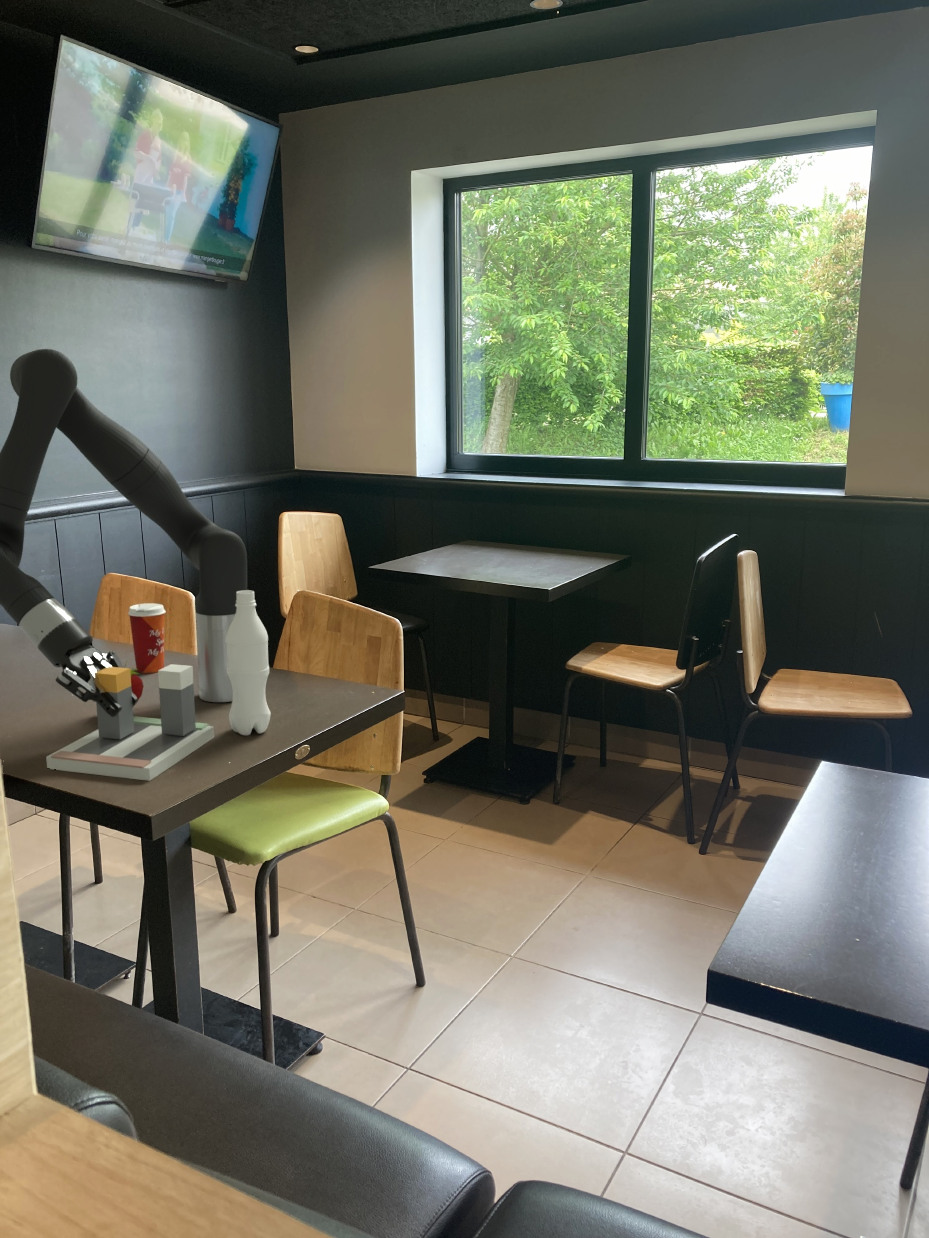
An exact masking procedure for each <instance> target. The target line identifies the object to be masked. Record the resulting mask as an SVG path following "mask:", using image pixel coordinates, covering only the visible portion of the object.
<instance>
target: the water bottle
mask: <svg viewBox="0 0 929 1238" xmlns="http://www.w3.org/2000/svg"><path fill="white" fill-rule="evenodd" d="M236 595H237V596H236V597H237V600H236V602H237V603H236V604H235V606H236V607H237V609H236V614H235V617H234V619H233V621H232V623H231V625H230V627H229V629H228V632H227V635H226V643H227V665H228V667H227V674H228V676H229V678H230V681H231V684H232V689H233V701H231V705H230V710H229V713H228V720H229V723H230V727H231V729H232V730H233V732H235V733H238V734H240V735H242V736H249V735H251V733H252V730H253V729H254V730H255V732H256V733H257V734H263V733H264V732H266V730H267V728H268V727H269V724H270V720H271V715H272V713H271V710H270V709H269V706H268V703H267V696H266V686H267V680H268V677H269V676H270V675H269V674H270V665H269V647H268V646H269V642H268V641H269V635H268V632H267V629H266V627H265V626H264V624H263V622H262V620H261V619H260V617H259V616H258V615H259V614H258V613H257V611H256V607H257V603H256V599H255V591H254V590H249V589H247V590H242V591H237V593H236Z"/></svg>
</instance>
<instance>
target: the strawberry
mask: <svg viewBox="0 0 929 1238" xmlns="http://www.w3.org/2000/svg"><path fill="white" fill-rule="evenodd" d="M127 662H128V661H127V660H126V661H125V665H124V668H127ZM137 670H138V669H137V668H135V669H134V668H133V669H132V668H130V673H131V688H132V692H133V693H134V694H135V696H136V697H137V699H138V701H139V700H140V698H141V697H142V695H143V691H144V683H143V679H141V678H140V676H138V675H140V672H137ZM136 705H137V703H136V704H135V705H134V706H133V708H134V707H135V706H136Z"/></svg>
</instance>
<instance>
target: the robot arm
mask: <svg viewBox="0 0 929 1238" xmlns="http://www.w3.org/2000/svg"><path fill="white" fill-rule="evenodd" d="M9 372H10V373H9V380H10V384H11V386H12V389H13V391H14V392H15V393H16V395H17V397H18V399H17V400H18V401H17V405H16V410H15V415H14V418H13V422H12V425H11V427H10V430H9V432H8V434H7V435H8V436H7V437H6V440H5V442H4V444H3V446H2V448H1V450H0V606H1V607H2V608H3V609H4V610H5V612H6V613H7V614H8V615H9V616H10V617H11V618H12V619H13V621H14V622H16V624H17V625H18V626H19V627H20V628H21V630H22V631H23V633H24V634H25V635H26V637H27V638H28V639H29V640H30V642H31V643H32V644H33V645H34V646H35V647H36V648H37V649H38V651H39V652H40V653H41V654H42V655H43V656H44V657H45V658H46V659H47V660H48V661H49V662H50V664H51V665H52V666H53V667H55V668H61V669H62V671H61V672H60V674H58V676H57V677H56V678H55V682H56V683H57V684H58V685H60V686H62V688H64V689H66V690H67V691H68V692H70V693H71V694H72V695H74V696H75V697H77V699H79V700H81V701H82V702H84V703H87V702H88V701H92V702H95V703H96V702H97V703H98V704H99V705H100V706H101V707H102V708H103V709H104V710H105V711H106V713H108V714H109V715H110V716H111V717H114V716H116V715H117V714H118V713H119V712H120V711H121V710H122V707H121V706H120V705H119V704H118V703H117V702H116V701H115V700H114V698H113V697H112V696H111V695H110V694H109V693H108V692H106V693H105V689H104V687H103V686H102V685H101V684H100V682H99V678H98V676H97V675H96V674H94V673H96V672H98V671H100V670H102V669H105V668H107V667H119V668H125V665H124V664H123V663H122V661H121V659H120V657H119V656H118V654H117V652H116V651H115V650H112V649H111V650H109V652H108V653H102V652H101V651H100V650H98V649H97V648H95V647H94V646H93V641H94V640H93V635H92V634H90V633H89V631H88V630H87V629H86V628H84V626H83V625H82V624H81V622H79V620H77V619H76V618H75V616H74V615H73V614H72V613H71V612H70V611H69V610H68V609H67V608H66V607H65V606H64V605H63V604H62V603H60V602H59V601H58V600H57V599H56V598H55V597H54V596H53V595H52V594H51V593H50V591H49V590H48V589H47V588H46V587H45V586H44V585H43V584H42V583H41V582H40V581H39V580H38V579H36V577H33V576H31V575H28V574H27V573H26V572H24V571H22V570H21V569H20V568H19V567H20V564H21V561H22V556H23V553H24V544H25V543H24V542H25V526H26V525H25V523H26V519H27V517H28V512H30V511H29V510H30V507H31V503H32V501H33V497H34V494H35V492H36V491H35V490H36V487H37V484H38V481H39V478H40V477H39V476H40V473H41V470H42V467H43V464H44V461H45V458H46V456H47V451H48V449H49V447H50V443H51V441H52V439H53V437H54V434H55V431H56V429H57V430H59V431H60V432H61V433H62V434H63V435H64V436H65V437H67V439H68V440H69V441H70V442H71V443H72V444H73V445H74V447H76V448H77V450H78V451H79V452H80V453H81V454H82V455H83V456H84V458H86V460H87V461H88V462H89V463H90V464H91V465H92V466H93V467H94V468H95V469H96V470H97V471H98V472H99V473H100V474H101V476H102V477H103V478H104V479H105V480H106V481H107V483H108V482H109V484H110V485H111V486H112V487H113V488H114V489H115V490H117V491H118V493H119V494H120V495H122V497H124V498H125V499H126V500H127V501H129V502H130V503H131V504H132V506H134V507H136V509H137V510H138V511H140V512H141V513H143V514H144V515H145V517H147V518H149V520H150V521H152V522H153V523H155V524H156V525H157V526H159V527H160V528H161V530H163V531H164V533H166V535H168V537H169V538H170V539H171V540H172V542H174V544H175V545H176V546H177V548H178V549H179V550H180V551H181V552H182V553H183V555H184V556H185V557H186V558H187V560H188V561H189V563H190V564H192V566H193V567H194V568H195V569H197V570H198V571H199V593H198V595H196V596H195V598H194V613H195V632H196V633H195V636H196V637H195V638H196V654H197V674H198V675H197V676H198V693H199V694H198V695H199V699H201V701H205V702H209V703H211V702H212V703H227V702H228V703H229V702H230V703H231V702H232V701H233V689H232V684H231V681H230V678H229V676H228V674H227V667H228V665H227V643H226V635H227V632H228V629H229V627H230V625H231V623H232V621H233V619H234V617H235V614H236V609H237V607H236V606H235V604H236V603H237V602H236V600H237V597H236V596H237V595H236V593H237V591H242V590H248V557H247V556H248V554H247V549H246V546H245V543H244V542H243V540H242V538H241V537H240V536H239V535H238V534H236V532H234V531H232V530H229V529H225V528H223V527H219V526H218V525H217V524H216V523H214V522H213V521H211V520H210V519H209V518H208V517H206V516H205V515H204V514H203V513H202V512H201V511H200V510H198V508H197V507H196V506H194V504H193V503H192V502H191V501H190V500H189V499H188V497H187V496H186V495H185V493H184V491H183V490H182V488H181V487H180V485H179V482H178V481H177V480H176V478H175V477H174V475H173V473H172V472H171V471H170V470H169V469H168V468H167V466H166V465H165V464H164V463H163V461H161V460H160V459H159V457H158V456H157V455H156V454H155V453H154V452H153V451H152V450H150V448H149V447H148V446H147V445H146V444H145V443H144V442H143V441H142V440H140V439H139V438H138V437H137V435H135V434H133V433H131V432H130V431H129V430H127V429H126V428H125V427H123V426H122V425H121V424H119V423H117V422H116V421H114V420H113V419H112V418H110V417H109V416H107V415H106V414H104V413H103V412H102V411H100V410H99V409H98V408H97V407H96V406H95V405H94V404H93V403H92V402H91V401H90V400H89V399H88V398H87V397H86V396H85V394H83V392H82V391H81V390H80V389H79V387H78V373H77V370H76V367H75V365H74V364H73V362H72V361H71V360H70V358H69V357H68V356H67V355H65V354H64V353H63V352H61V351H59V350H56V349H51V348H41V349H35V350H32V351H30V352H29V351H28V352H27V353H24V354H22V355H20V356H18V357H17V358H16V359H15V360H14V362H13V363H12V365H11V367H10V371H9ZM79 688H81V690H80V689H79ZM95 688H96V689H95ZM138 702H139V700H138V699H137V697H136V696H135V694H134V693H133V692H132V704H133V706H134V705H135V704H136V705H137V703H138ZM136 705H135V706H136ZM135 706H134V707H135Z"/></svg>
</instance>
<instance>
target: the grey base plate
mask: <svg viewBox="0 0 929 1238" xmlns="http://www.w3.org/2000/svg"><path fill="white" fill-rule="evenodd" d="M193 669H194V668H193V665H183V664H171V663H170V664H168V665H166V666H164V668H162V669H160V670H158V672H157V675H158V677H157V678H158V689H159V690H158V692H159V706H160V709H159V710H160V718H156V717H155V718H154V717H146V716H145V717H144V716H136V715H135V716H134V715H133V718H134V732H133V733H131V734H129V735H127V736H126V737H124V738H122V739H112V738H102V737H99V731H98V729H96V730H94V731H92V732H90V733H88V734H86V735H85V736H82V737H81V738H79V739H77V740H76V741H73V742H72V743H70V744H68V745H66V746H64V747H62V748H60V749H58V750H56V751H54V752H52V753H50V754H49V755H47V756H46V768H50V769H49V770H54V769H56V771H63V772H71V773H81V774H89V775H96V776H97V775H98V776H106V777H113V778H114V777H115V778H122V779H131V780H132V779H133V780H141V781H149V782H151V781H152V780H154V779H155V778H157V777H158V776H160V774H162V773H164V772H165V771H166V770H168V769H169V768H171V767H173V766H174V765H176V764H177V763H179V762H181V761H182V760H183V759H184V758H186V757H187V756H190V754H191V753H193V752H195V751H196V750H198V749H199V748H200V747H203V745H205V744H207V743H208V742H210V741H211V740H213V739H214V738H215V726H213V725H210V724H209V723H205V722H204V723H203V722H196V710H195V709H196V708H195V690H194V689H195V687H194V670H193Z"/></svg>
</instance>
